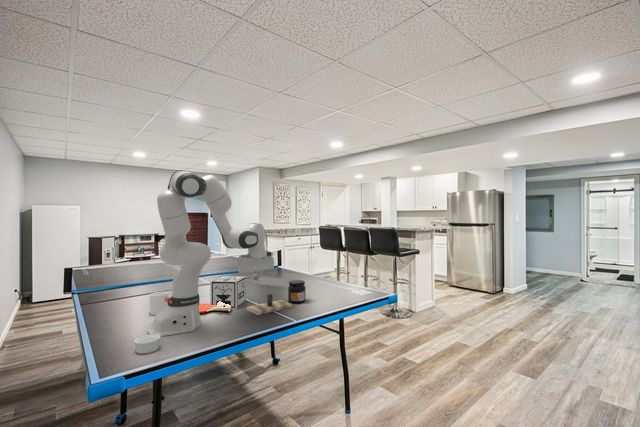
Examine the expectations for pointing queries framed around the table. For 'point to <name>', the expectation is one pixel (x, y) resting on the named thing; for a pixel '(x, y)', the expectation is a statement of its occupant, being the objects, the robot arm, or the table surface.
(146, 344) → the ramekin
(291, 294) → the supplement container
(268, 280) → the silver rectangular frame
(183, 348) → the table surface
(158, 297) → the mug
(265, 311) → the plate
